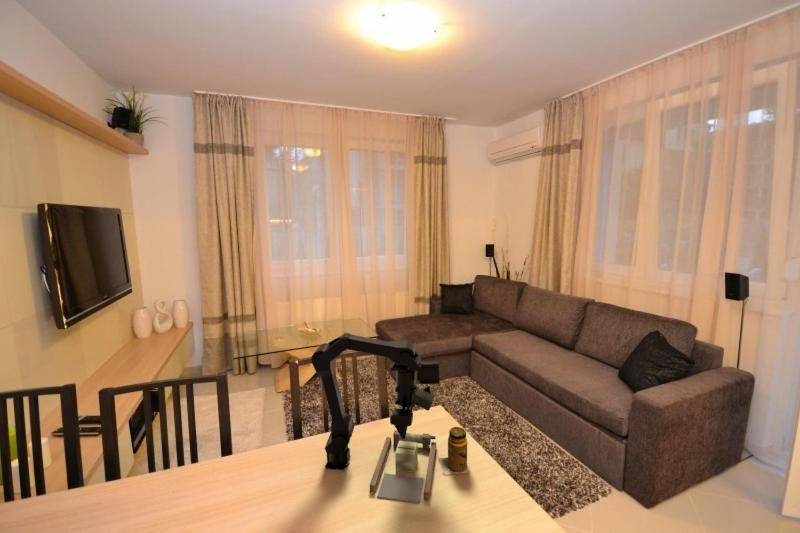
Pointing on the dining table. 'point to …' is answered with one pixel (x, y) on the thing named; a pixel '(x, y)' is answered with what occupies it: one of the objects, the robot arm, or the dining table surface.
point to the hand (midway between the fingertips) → (406, 429)
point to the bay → (410, 437)
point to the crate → (406, 456)
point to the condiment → (456, 453)
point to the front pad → (401, 488)
